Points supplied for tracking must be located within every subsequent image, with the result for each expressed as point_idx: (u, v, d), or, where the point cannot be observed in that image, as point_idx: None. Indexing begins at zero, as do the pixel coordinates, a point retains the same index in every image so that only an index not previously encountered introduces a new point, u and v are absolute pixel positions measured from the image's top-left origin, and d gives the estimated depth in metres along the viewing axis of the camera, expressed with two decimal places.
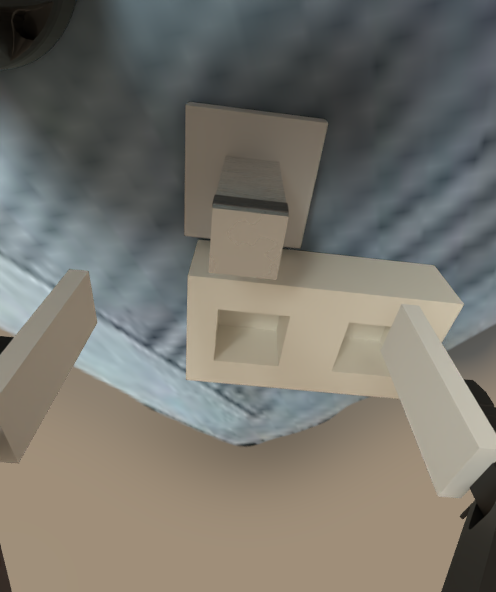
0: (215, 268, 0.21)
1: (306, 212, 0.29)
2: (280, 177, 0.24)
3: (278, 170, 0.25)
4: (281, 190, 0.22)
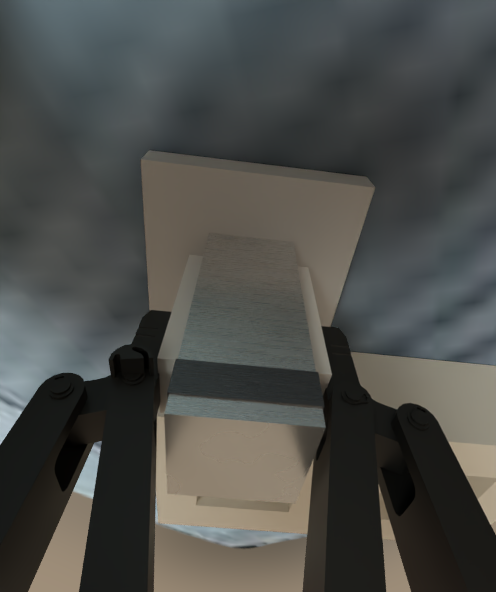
0: (179, 489, 0.11)
1: (333, 309, 0.19)
2: (298, 286, 0.14)
3: (293, 265, 0.15)
4: (303, 326, 0.12)
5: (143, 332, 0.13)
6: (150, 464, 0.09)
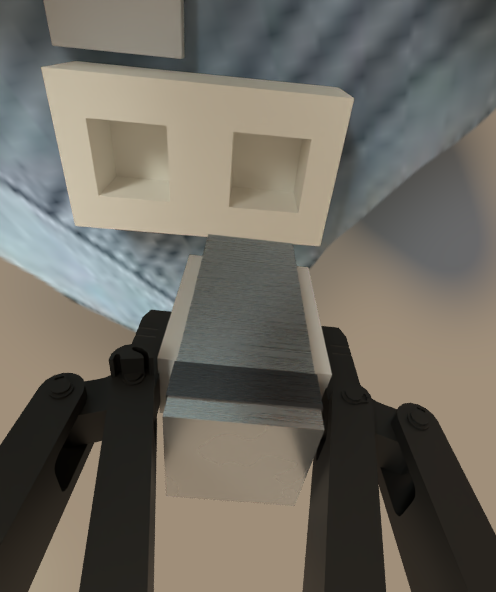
0: (178, 491, 0.11)
1: (178, 4, 0.26)
2: (297, 287, 0.14)
3: (293, 267, 0.15)
4: (302, 328, 0.12)
5: (143, 332, 0.13)
6: (150, 464, 0.09)
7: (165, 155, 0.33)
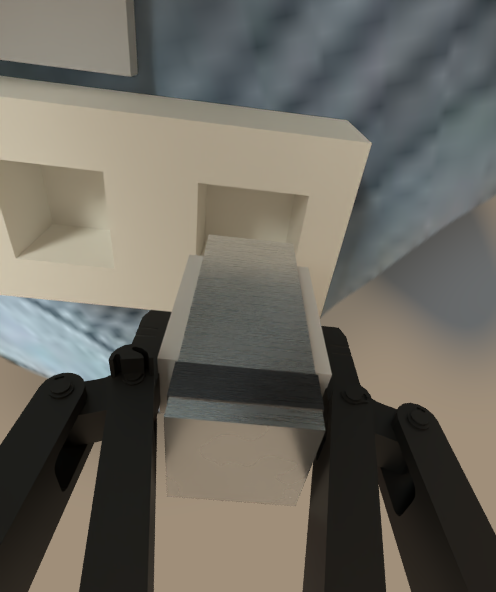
0: (179, 492, 0.11)
1: (122, 0, 0.18)
2: (297, 288, 0.14)
3: (293, 267, 0.15)
4: (303, 328, 0.12)
5: (143, 332, 0.13)
6: (150, 464, 0.09)
7: None
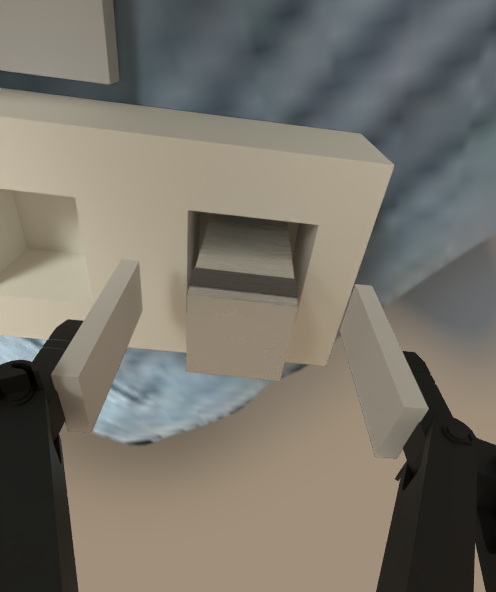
0: (195, 367, 0.15)
1: None
2: (285, 231, 0.18)
3: None
4: (287, 254, 0.16)
5: (52, 344, 0.12)
6: (51, 481, 0.08)
7: None
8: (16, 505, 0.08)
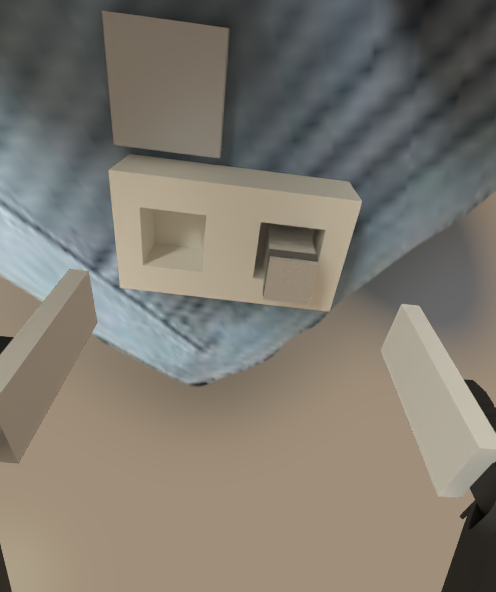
0: (268, 296, 0.31)
1: (220, 120, 0.32)
2: (309, 233, 0.35)
3: None
4: (311, 244, 0.33)
5: None
6: None
7: (198, 228, 0.39)
8: None
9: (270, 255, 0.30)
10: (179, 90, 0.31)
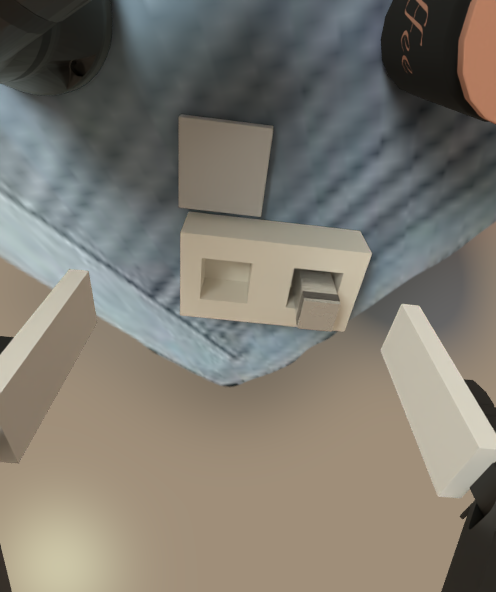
0: (301, 326, 0.42)
1: (263, 190, 0.42)
2: (330, 273, 0.45)
3: None
4: (333, 284, 0.43)
5: None
6: None
7: (240, 266, 0.49)
8: None
9: (304, 297, 0.40)
10: (233, 169, 0.41)
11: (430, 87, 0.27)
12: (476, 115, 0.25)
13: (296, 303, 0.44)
